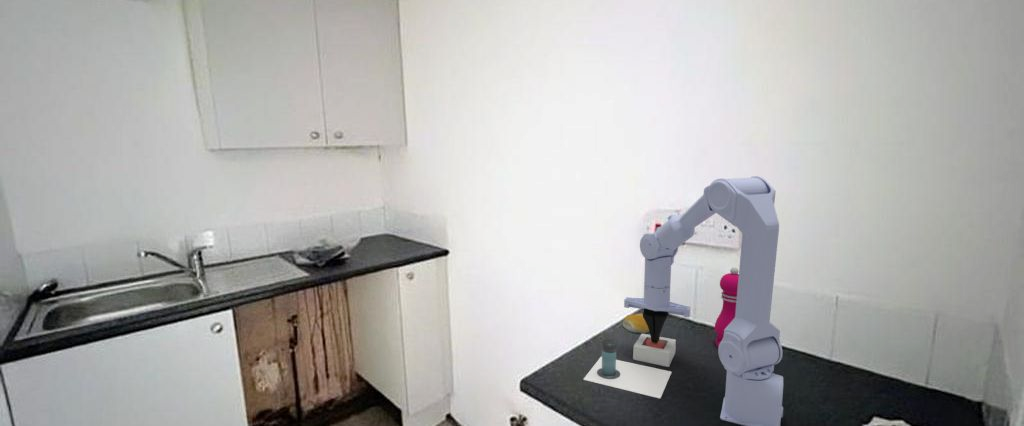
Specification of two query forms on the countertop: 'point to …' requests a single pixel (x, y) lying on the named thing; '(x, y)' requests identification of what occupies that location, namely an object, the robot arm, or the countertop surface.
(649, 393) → the paper
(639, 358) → the button housing
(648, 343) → the button
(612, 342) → the teal cylinder
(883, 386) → the countertop surface
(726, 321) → the pepper mill
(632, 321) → the bread roll
